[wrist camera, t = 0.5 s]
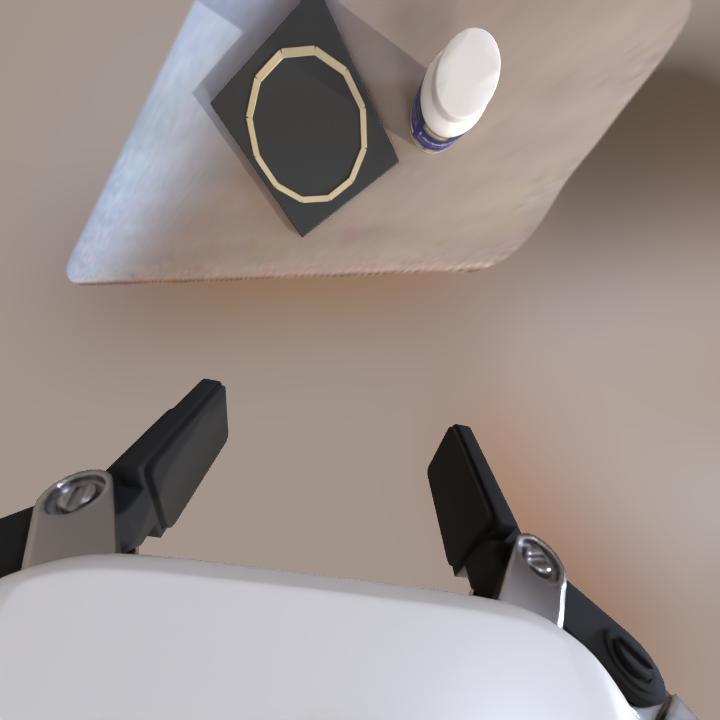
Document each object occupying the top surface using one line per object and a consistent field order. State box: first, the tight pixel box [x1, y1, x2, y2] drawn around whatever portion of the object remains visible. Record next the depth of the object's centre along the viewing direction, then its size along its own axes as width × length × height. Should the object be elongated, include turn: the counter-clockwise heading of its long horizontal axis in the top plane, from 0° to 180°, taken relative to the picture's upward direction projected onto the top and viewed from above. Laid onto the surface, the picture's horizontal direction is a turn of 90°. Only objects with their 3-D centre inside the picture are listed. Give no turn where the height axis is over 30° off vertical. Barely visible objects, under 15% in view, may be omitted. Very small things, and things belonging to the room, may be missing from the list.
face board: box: [211, 0, 399, 237], centre depth 28 cm, size 14×15×1 cm
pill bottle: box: [409, 28, 500, 153], centre depth 23 cm, size 6×6×10 cm
